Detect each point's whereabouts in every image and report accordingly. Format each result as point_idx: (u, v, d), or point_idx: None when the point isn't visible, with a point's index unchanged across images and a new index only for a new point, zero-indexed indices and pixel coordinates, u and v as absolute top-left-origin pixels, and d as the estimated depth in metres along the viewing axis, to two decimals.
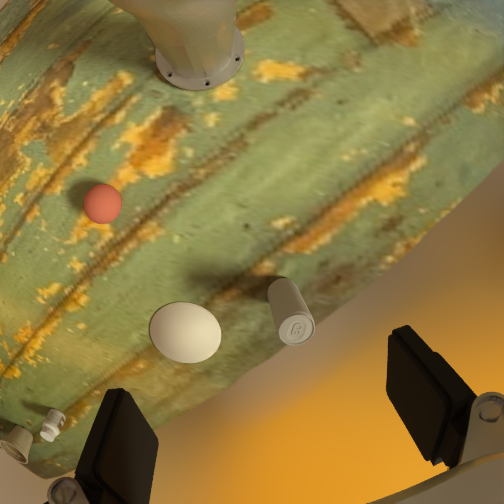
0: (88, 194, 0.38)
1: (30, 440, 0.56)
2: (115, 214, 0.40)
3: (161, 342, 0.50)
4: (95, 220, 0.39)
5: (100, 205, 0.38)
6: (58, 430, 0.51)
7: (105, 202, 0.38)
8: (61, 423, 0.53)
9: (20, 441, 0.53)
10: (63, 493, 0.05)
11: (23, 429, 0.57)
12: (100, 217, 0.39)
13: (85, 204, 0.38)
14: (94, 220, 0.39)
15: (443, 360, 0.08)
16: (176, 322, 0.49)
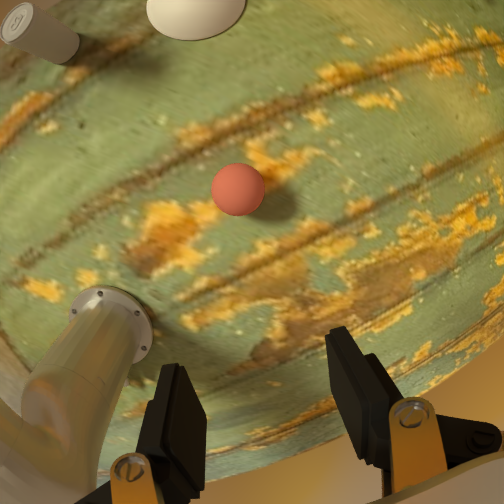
0: (248, 210, 0.32)
1: None
2: (220, 172, 0.31)
3: None
4: (247, 173, 0.31)
5: (230, 192, 0.30)
6: None
7: (223, 194, 0.31)
8: None
9: None
10: (128, 470, 0.06)
11: None
12: (237, 176, 0.30)
13: (255, 199, 0.31)
14: (249, 174, 0.31)
15: (378, 362, 0.09)
16: (199, 15, 0.29)
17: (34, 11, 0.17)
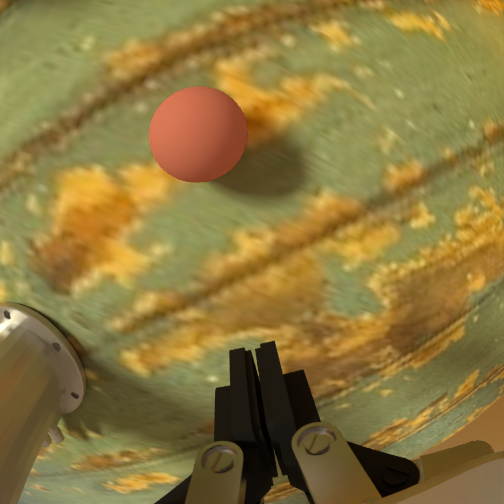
0: (215, 167, 0.16)
1: None
2: (163, 102, 0.15)
3: None
4: (213, 97, 0.15)
5: (177, 131, 0.14)
6: None
7: (165, 135, 0.15)
8: None
9: None
10: (216, 461, 0.06)
11: None
12: (192, 101, 0.14)
13: (228, 144, 0.15)
14: (217, 98, 0.15)
15: (304, 379, 0.09)
16: None
17: None
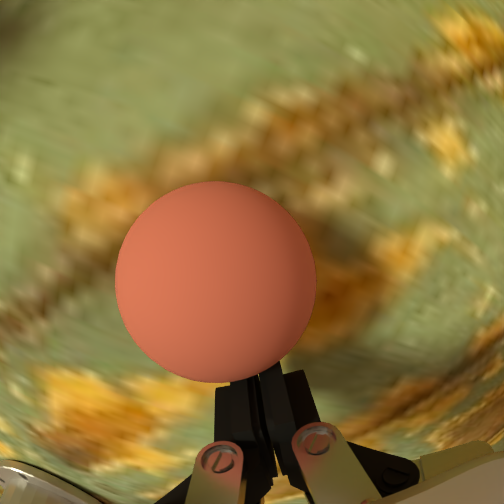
0: (235, 287, 0.06)
1: None
2: None
3: None
4: None
5: (157, 207, 0.07)
6: None
7: (135, 225, 0.07)
8: None
9: None
10: (216, 461, 0.06)
11: None
12: (198, 183, 0.09)
13: (267, 233, 0.07)
14: None
15: (304, 379, 0.09)
16: None
17: None
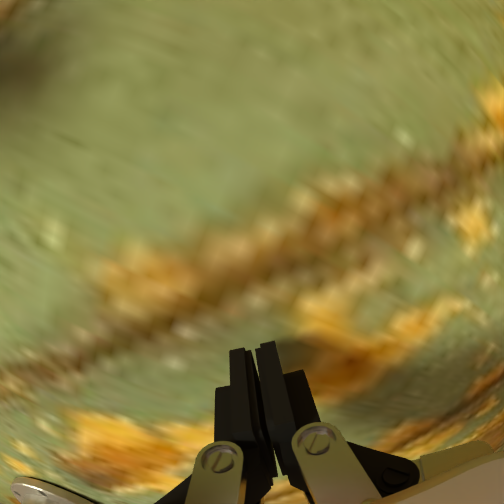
0: None
1: None
2: None
3: None
4: None
5: None
6: None
7: None
8: None
9: None
10: (216, 461, 0.06)
11: None
12: None
13: None
14: None
15: (304, 379, 0.09)
16: None
17: None
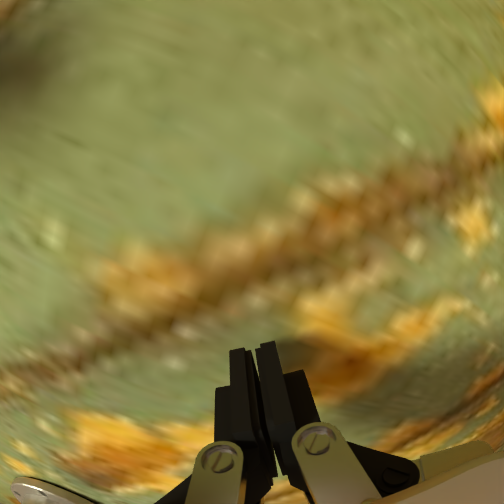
0: None
1: None
2: None
3: None
4: None
5: None
6: None
7: None
8: None
9: None
10: (216, 461, 0.06)
11: None
12: None
13: None
14: None
15: (304, 379, 0.09)
16: None
17: None
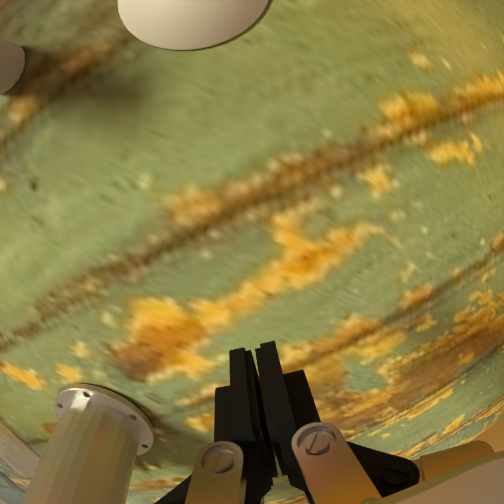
0: None
1: None
2: None
3: None
4: None
5: None
6: None
7: None
8: None
9: None
10: (216, 461, 0.06)
11: None
12: None
13: None
14: None
15: (304, 380, 0.09)
16: (199, 10, 0.18)
17: None
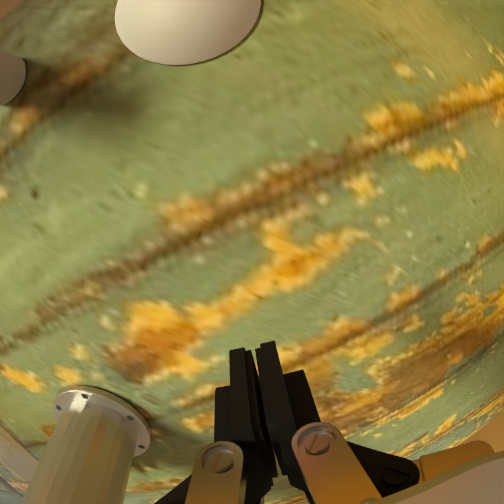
0: None
1: None
2: None
3: None
4: None
5: None
6: None
7: None
8: None
9: None
10: (216, 461, 0.06)
11: None
12: None
13: None
14: None
15: (304, 379, 0.09)
16: (192, 26, 0.19)
17: None
